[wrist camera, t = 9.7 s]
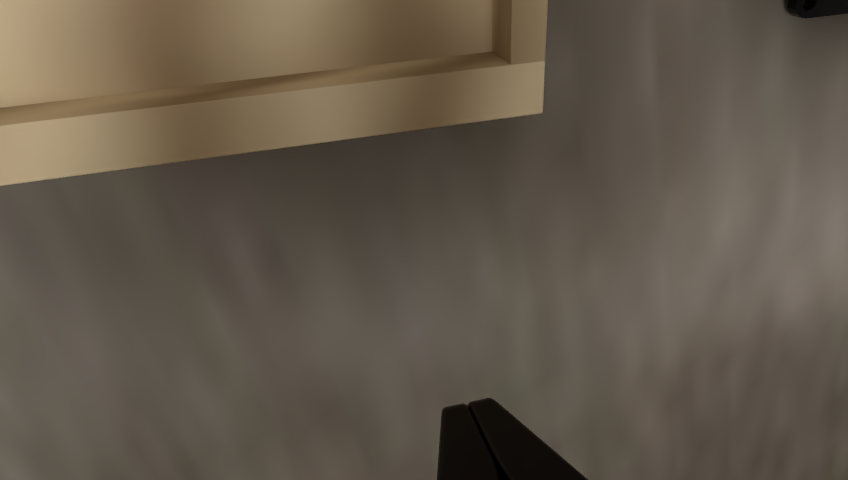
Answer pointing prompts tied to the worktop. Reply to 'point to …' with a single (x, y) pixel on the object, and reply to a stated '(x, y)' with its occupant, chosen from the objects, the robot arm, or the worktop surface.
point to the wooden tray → (250, 76)
